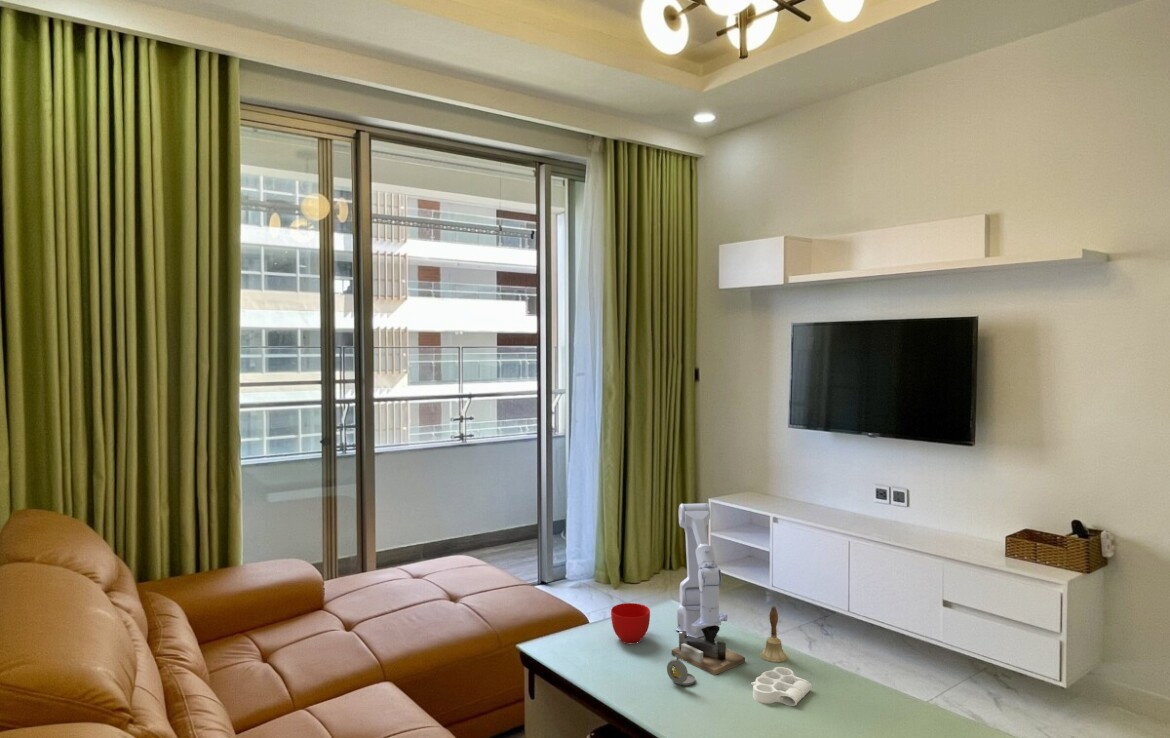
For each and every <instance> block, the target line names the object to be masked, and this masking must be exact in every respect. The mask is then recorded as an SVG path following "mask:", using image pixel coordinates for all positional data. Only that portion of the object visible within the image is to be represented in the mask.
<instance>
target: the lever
mask: <svg viewBox="0 0 1170 738" xmlns="http://www.w3.org/2000/svg"><path fill="white" fill-rule="evenodd" d="M703 639H704V638H703ZM703 639H701V638H700V637H699V638H695V637H691V636H687V632H686V631H679V632H678V647H679V649H680V650H681V644H683V643H685V644H687V645H689V646H691V647H694V648H696V649H698V650H700V651H702V652H703V655H705V656H709V657H713V658H717V659H719V660H725V659H726V649H727V647H726V645H727V643H726V642H725V641H724V640H718V641H717V642H716V641H715V642H712V641H708V640H703Z"/></svg>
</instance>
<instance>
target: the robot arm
mask: <svg viewBox="0 0 1170 738" xmlns="http://www.w3.org/2000/svg"><path fill="white" fill-rule="evenodd" d="M710 520H711V507H710V505H709V503H707V502H705V503H702V502H701V503H680V504H679V506H678V524H679V527H680V528H682V529H683V530H684V533H685V553H686V554H685V555H686V576H687V577H686V578H684V579H683V580H682V581H681V582H680V583H679V591H678V592H679V593H678V599H679V605H678V608H677V611H676V612H677V615H676V617H677V618H676V619H677V620H676V622H677V623H676V624H677V625H676V627H677V628H675V631H676V630H677V631H676V632H678V631H686V632H687V635H688V636H691V637H695V638H699V639H700V638H702V637H704V639H705V640H708V641H712V642H716V637H717V635H718V633H719V631H721V630H720V629H721V628H720V626H721V625H722V622H727V621H728V614H727V613H724V612H722V613H720V587H721V585H722V582H723V581H722V580H723V578H722V571H721V568H720V566H719V564H718V563H717V561H716V557H715V552H714V551H715V550H714V548H713V547H712V546H710V545H709V539H708V538H709V537H708V530H707V526H708V525H709V521H710Z"/></svg>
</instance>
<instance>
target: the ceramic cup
mask: <svg viewBox="0 0 1170 738" xmlns="http://www.w3.org/2000/svg"><path fill="white" fill-rule="evenodd" d="M610 611H611V612H610V615H611V616H610V617H611V626H612V629H613V632H614V633H615V635H616V636H617V638H619V640H620V641H621V642H622V643H624V642H625V643H624V644H627V643H635V644H637V642H638V643H640V642H641V641H640V640H642V639H644V637H645V636H646V634H647V632H648V630H649V627H650V626H649V625H650V620H651V619H650V618H651V609H650V608H649V607H648V606H646V605H645V604H640V603H633V602H627V603H626V602H624V603H619V604H616V605H614V606H612V608H610ZM639 641H640V642H639Z"/></svg>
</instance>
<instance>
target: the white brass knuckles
mask: <svg viewBox="0 0 1170 738" xmlns="http://www.w3.org/2000/svg"><path fill="white" fill-rule="evenodd" d="M750 684H751V685H752V698H753V699H754V700H755V701H756V702H758V703H762V704H773V703H781V704H784V705H786V706H789V707H794V706H797V705H798V703H799V702H800V701H801V700H802V699H803V698H805V696H806V695H807V694H808V693H810V691H812V689H813V685H812V684H811V682H810V681H808V680H806V679H804V678H801V677H799V676H796V675H795V674H794V671H793V670H792V669H790V668H787V667H784V666H775V667H774V668H773V669H771V670H766V671H763V672H761V674H760V675H759V676H757V677H756V678H755V681H753V682H750Z"/></svg>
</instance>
